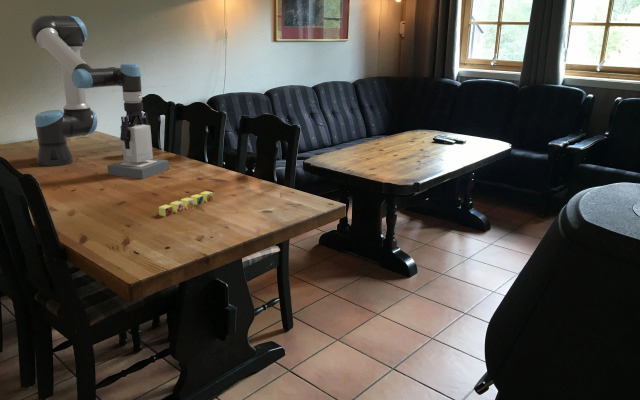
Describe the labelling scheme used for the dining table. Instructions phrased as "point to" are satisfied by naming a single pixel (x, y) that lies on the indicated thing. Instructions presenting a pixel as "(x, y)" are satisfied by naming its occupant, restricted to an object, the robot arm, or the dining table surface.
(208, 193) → the row of toy blocks
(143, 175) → the plinth
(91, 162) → the dining table surface
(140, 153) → the supplement box
